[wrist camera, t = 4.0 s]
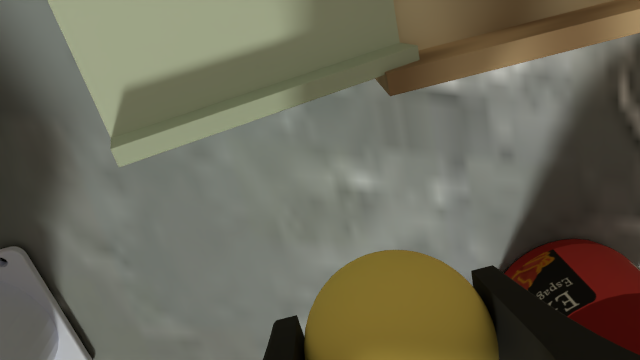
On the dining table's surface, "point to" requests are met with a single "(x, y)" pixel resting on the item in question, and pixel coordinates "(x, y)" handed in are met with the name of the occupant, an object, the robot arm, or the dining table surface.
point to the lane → (498, 34)
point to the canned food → (586, 287)
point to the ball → (399, 312)
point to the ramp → (219, 61)
